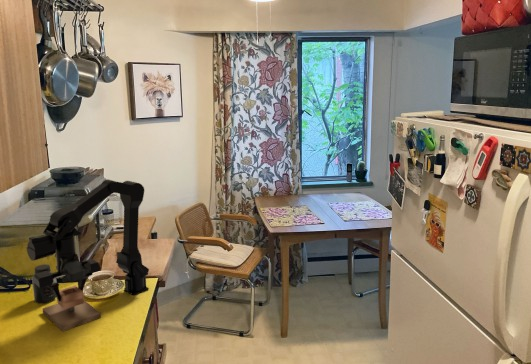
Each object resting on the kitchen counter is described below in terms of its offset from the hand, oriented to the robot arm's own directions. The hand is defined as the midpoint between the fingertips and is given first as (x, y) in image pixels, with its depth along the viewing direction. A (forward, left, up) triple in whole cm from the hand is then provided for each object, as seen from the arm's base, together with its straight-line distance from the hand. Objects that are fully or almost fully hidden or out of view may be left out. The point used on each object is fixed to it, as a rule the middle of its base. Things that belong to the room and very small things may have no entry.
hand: (70, 297), depth 142 cm
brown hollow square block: (0, 0, -2) cm, 2 cm away
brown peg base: (0, 0, -6) cm, 6 cm away
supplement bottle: (+2, -17, -6) cm, 18 cm away
